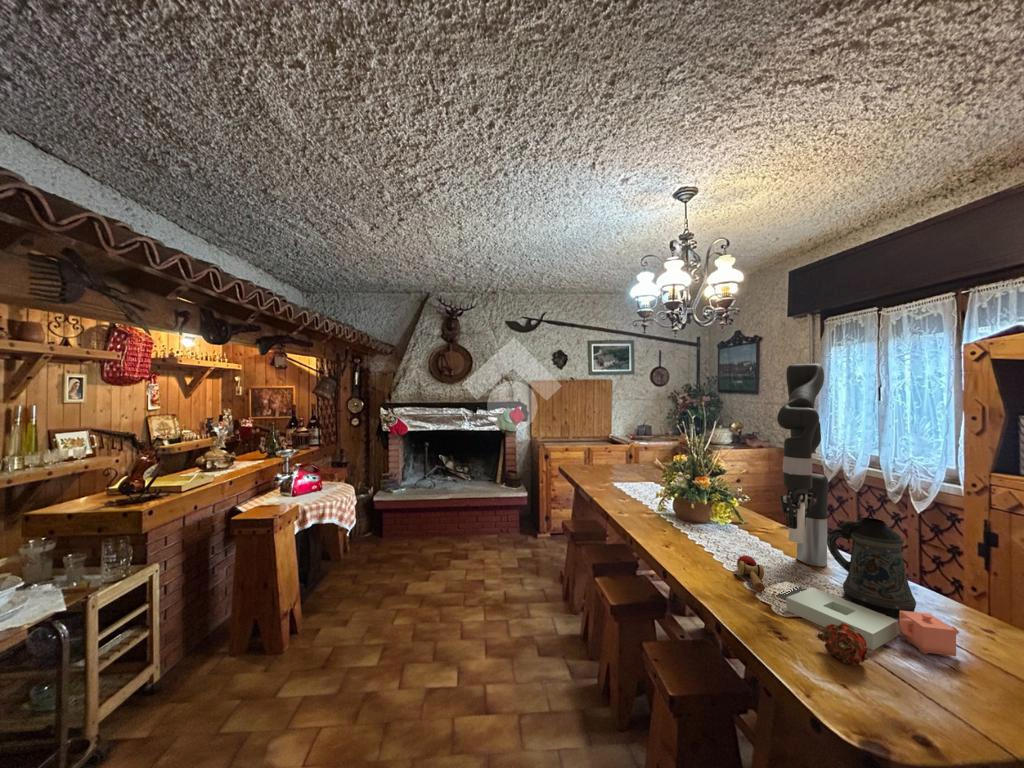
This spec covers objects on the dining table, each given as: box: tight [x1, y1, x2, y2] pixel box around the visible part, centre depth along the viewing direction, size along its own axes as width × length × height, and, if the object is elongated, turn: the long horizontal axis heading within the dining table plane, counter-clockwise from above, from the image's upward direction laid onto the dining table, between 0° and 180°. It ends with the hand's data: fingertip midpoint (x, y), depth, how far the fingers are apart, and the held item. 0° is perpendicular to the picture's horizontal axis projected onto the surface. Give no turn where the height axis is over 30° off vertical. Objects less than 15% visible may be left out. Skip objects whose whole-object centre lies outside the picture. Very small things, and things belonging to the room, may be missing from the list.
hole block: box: [785, 587, 899, 651], centre depth 112 cm, size 14×20×4 cm
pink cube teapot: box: [898, 610, 960, 658], centre depth 102 cm, size 8×12×8 cm, turn 78°
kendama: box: [736, 554, 766, 593], centre depth 137 cm, size 8×6×18 cm
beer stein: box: [827, 517, 917, 619], centre depth 124 cm, size 16×19×25 cm
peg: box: [788, 503, 805, 544], centre depth 127 cm, size 4×4×12 cm
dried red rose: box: [817, 623, 869, 666], centre depth 97 cm, size 8×8×12 cm
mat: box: [775, 585, 808, 601], centre depth 129 cm, size 14×10×1 cm
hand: (796, 527), depth 126 cm, fingers closed on peg, 4 cm apart
